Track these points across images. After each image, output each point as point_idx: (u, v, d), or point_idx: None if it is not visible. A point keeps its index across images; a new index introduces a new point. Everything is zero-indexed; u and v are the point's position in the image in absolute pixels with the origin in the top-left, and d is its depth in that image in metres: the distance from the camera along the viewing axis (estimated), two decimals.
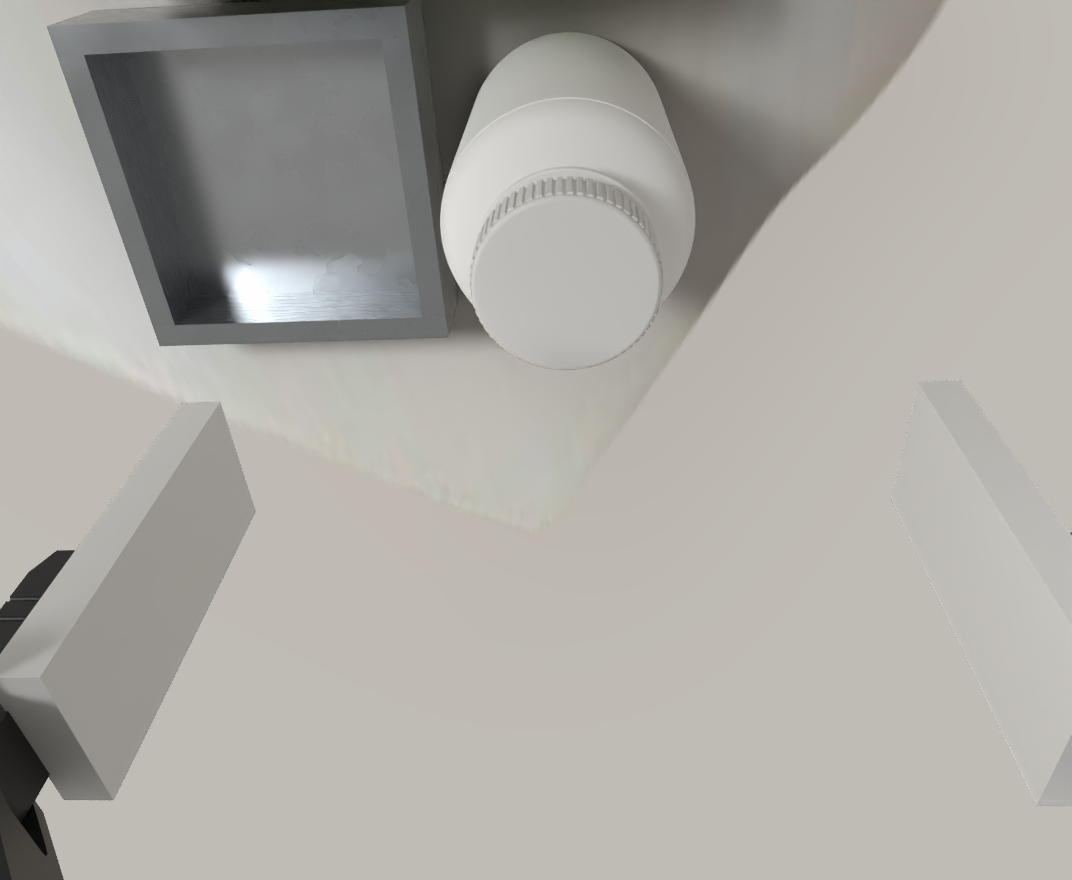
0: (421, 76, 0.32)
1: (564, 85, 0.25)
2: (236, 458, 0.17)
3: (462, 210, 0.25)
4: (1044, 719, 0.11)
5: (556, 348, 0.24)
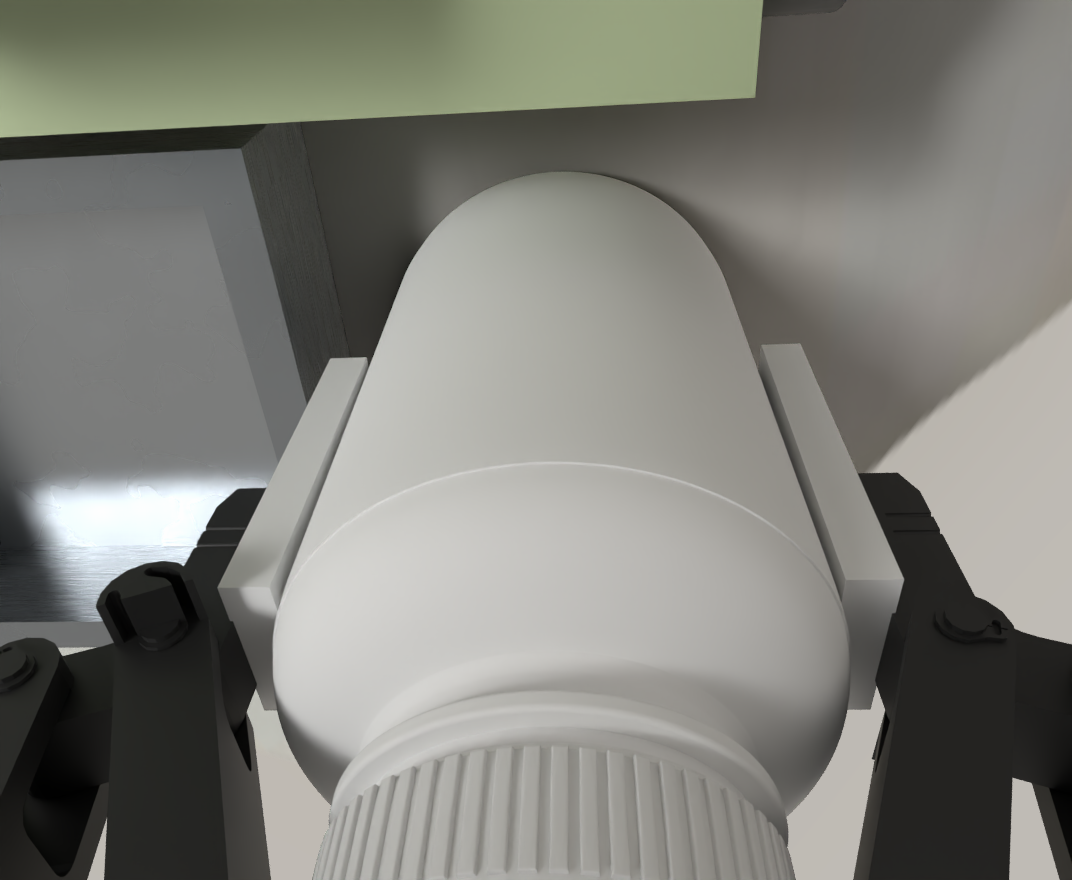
0: (297, 254, 0.18)
1: (549, 395, 0.11)
2: None
3: (305, 704, 0.10)
4: None
5: None
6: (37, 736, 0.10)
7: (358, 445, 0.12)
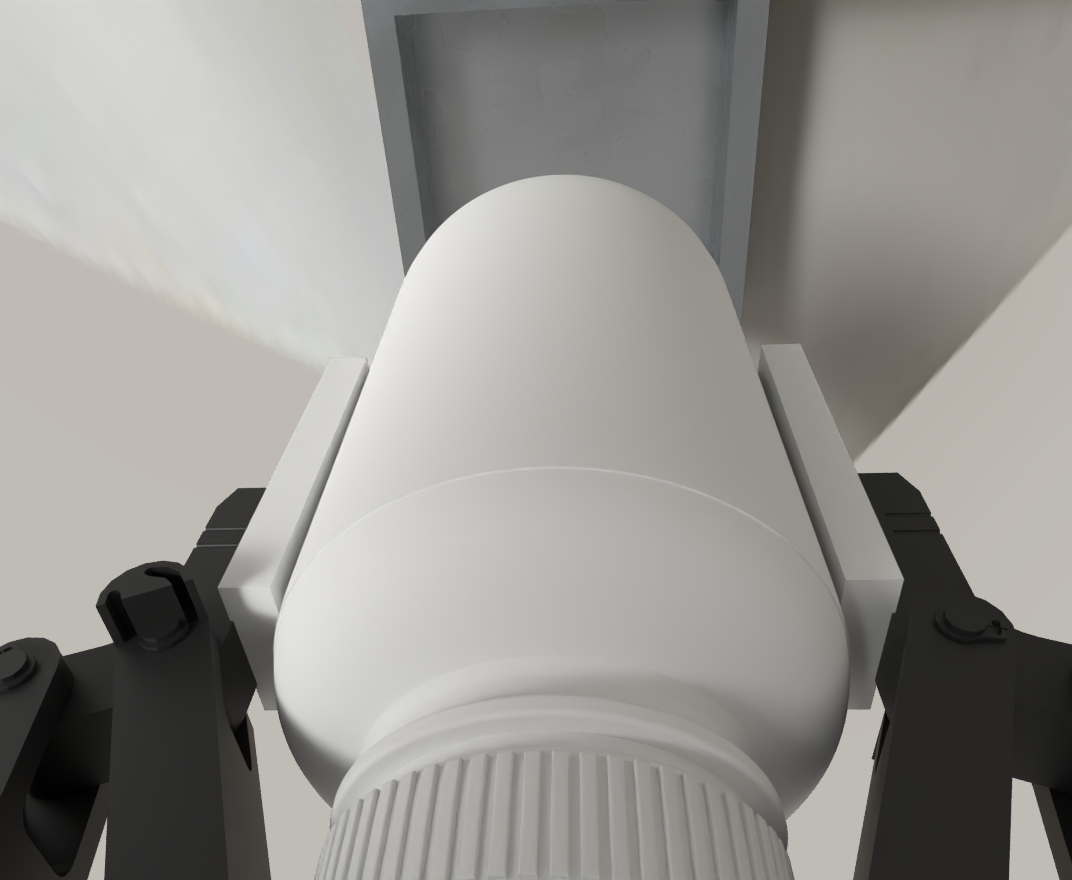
0: None
1: (550, 400, 0.11)
2: None
3: (307, 708, 0.10)
4: None
5: None
6: (37, 736, 0.10)
7: (359, 449, 0.12)
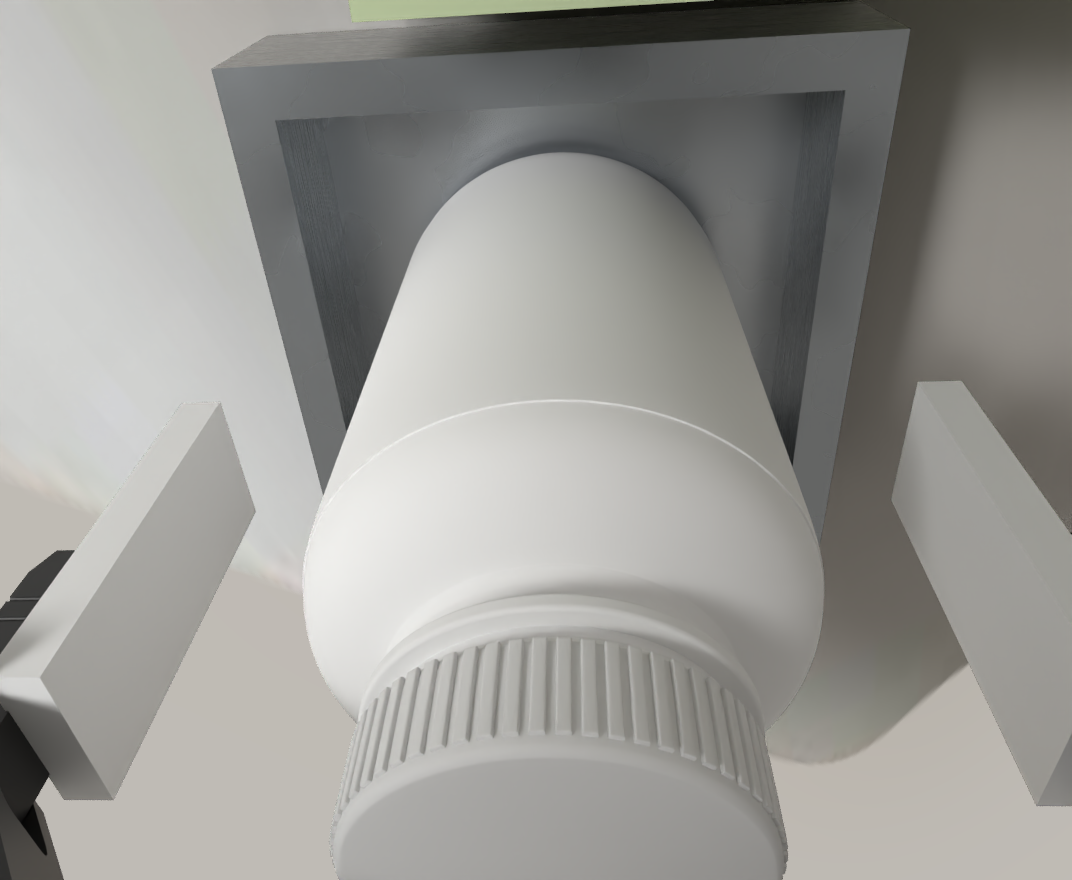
0: None
1: (553, 345, 0.12)
2: (235, 458, 0.17)
3: (335, 620, 0.11)
4: (1044, 719, 0.11)
5: None
6: None
7: (379, 395, 0.13)
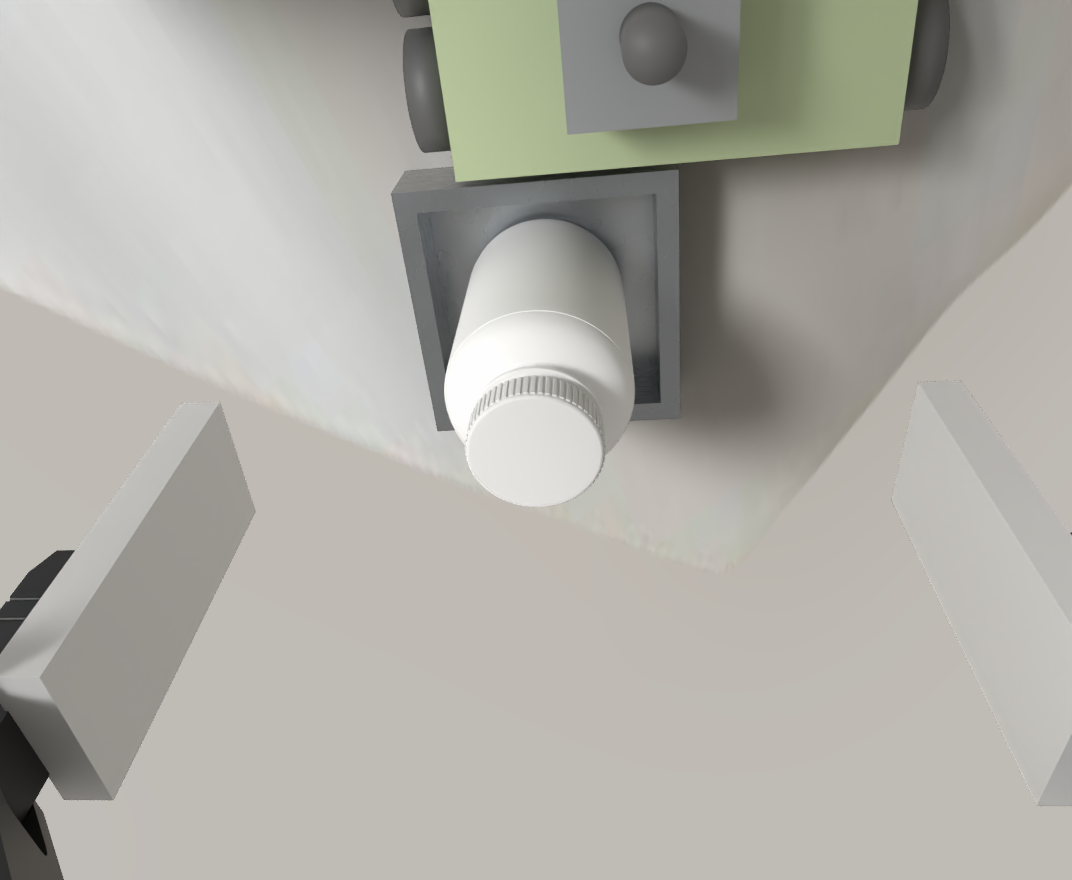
0: None
1: (532, 295, 0.34)
2: (236, 458, 0.17)
3: (460, 390, 0.33)
4: (1044, 719, 0.11)
5: (530, 493, 0.33)
6: None
7: (470, 317, 0.35)
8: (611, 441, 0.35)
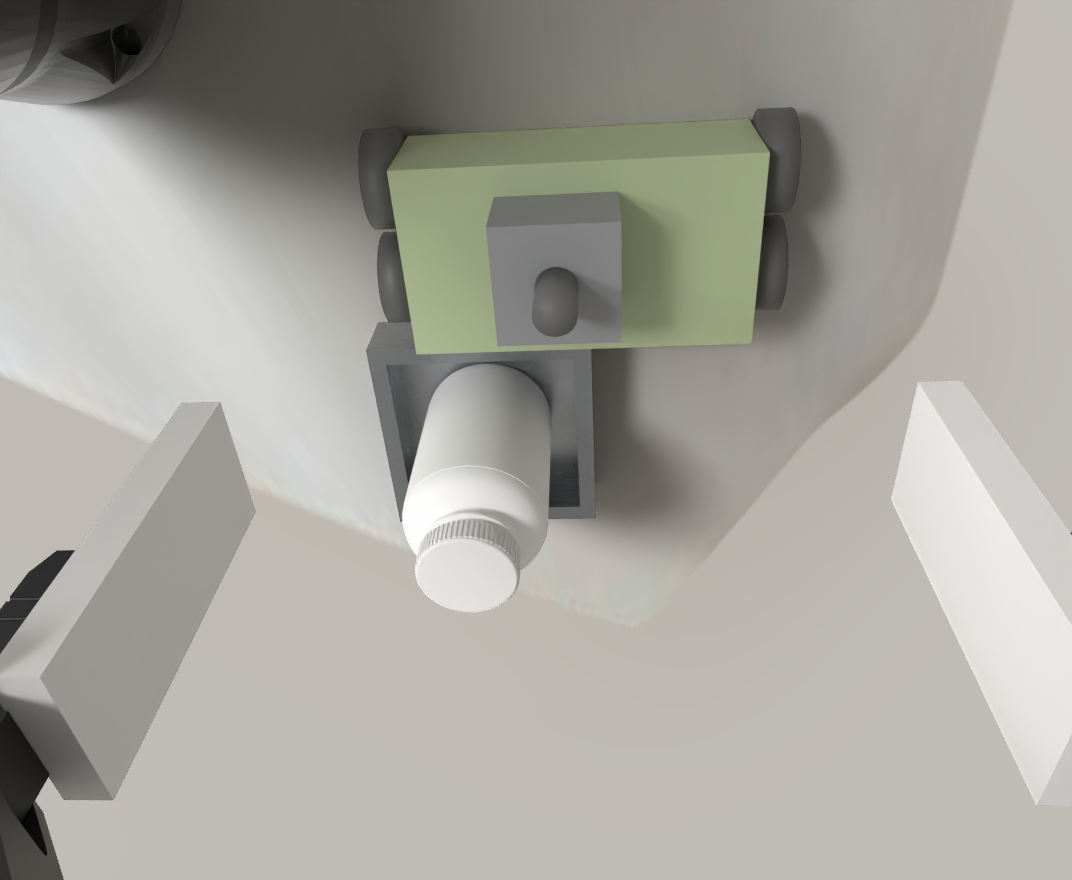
0: None
1: (470, 449, 0.44)
2: (235, 458, 0.17)
3: (413, 522, 0.44)
4: (1044, 719, 0.11)
5: (464, 603, 0.43)
6: None
7: (423, 461, 0.46)
8: (528, 559, 0.46)
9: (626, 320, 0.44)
